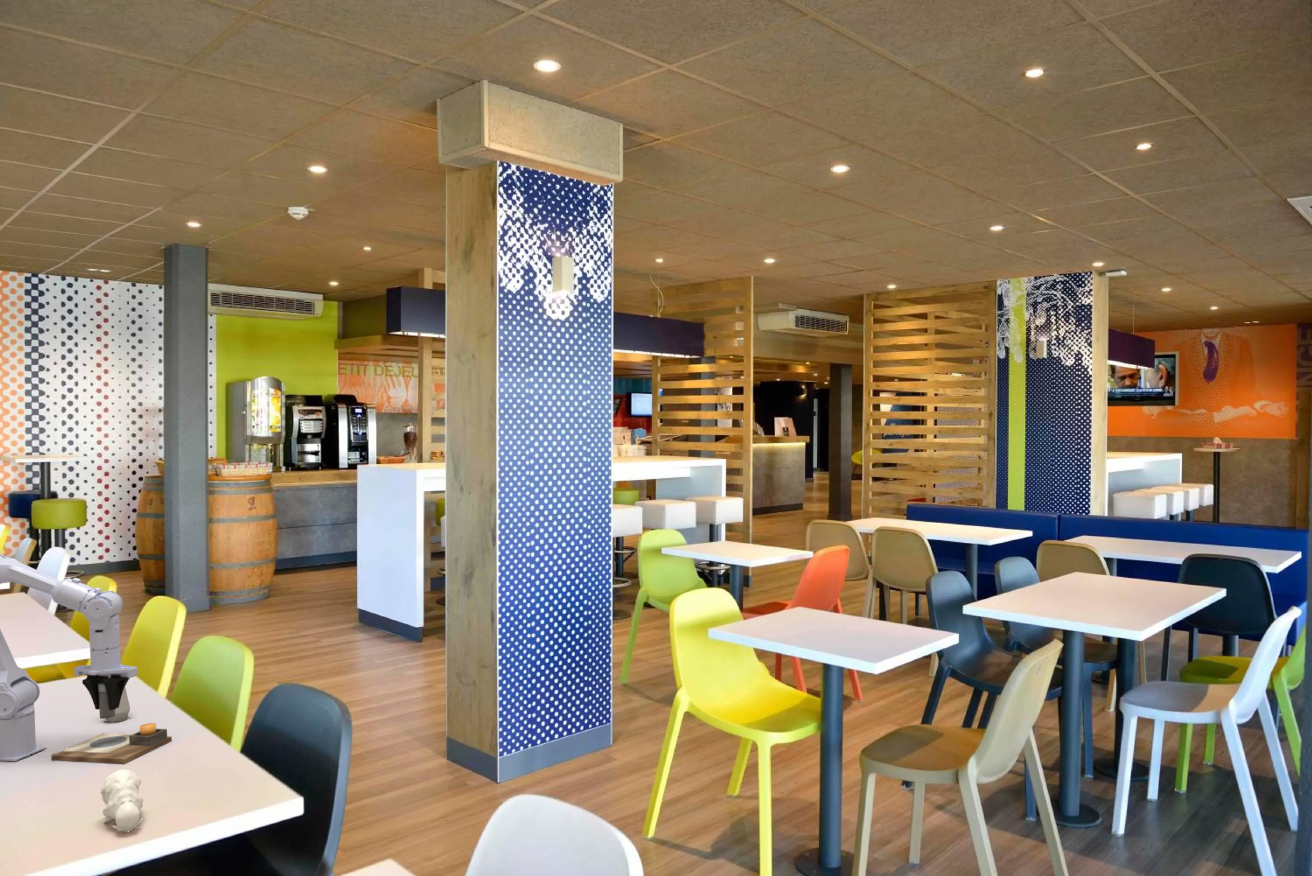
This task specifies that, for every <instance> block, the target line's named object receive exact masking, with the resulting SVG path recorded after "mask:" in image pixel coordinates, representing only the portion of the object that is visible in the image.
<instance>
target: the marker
mask: <svg viewBox="0 0 1312 876" xmlns="http://www.w3.org/2000/svg"><path fill="white" fill-rule="evenodd" d="M98 691H99V709H98V710H99V711H98V712H99V719H101V720H106V719H107V718H112V717H114V716H115V709H114V710H109V706H108V696H107V691H106V688H105V685H104V683H103V682H102V683H99V684H98Z"/></svg>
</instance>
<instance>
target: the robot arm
mask: <svg viewBox="0 0 1312 876" xmlns="http://www.w3.org/2000/svg"><path fill="white" fill-rule="evenodd" d="M7 583H16V584H19V585H21V586H24V587H28V588H30V589H33V590H36V591H40V592H43V593H46V594H48V595H50V596H51V599H52V601H53V602H54V603H56V604H58V605H60V606H63V607H66V608H68V609H70V610H73V611H76V612H79V613H81V614H83V616H84V617H85V619H87V621H88V623H89V625H88V627H89V629H88V630H89V654H90V657H89V659H90V664H89V665H88V664H87V665H85V664H83V665H78V666H75V667H74V672H73V673H74V677H80V676H86V677H85V678H84V679H82V681H81V683H82V685H83V686H84V687H85V688H86V690H87V692H88V693H89V695H90V697H91V701H92V702H93V705H94V709H95V710H99V691H98V684H99V683H102V682H103V683H104V685H105V688H106V691H107V696H108V706H109V710H114V709H116V708H119V704H120V700H121V696H122V693H123V690H124V688H126V685H127V684H128V682H129V680H130V679H131V678H134V677H136V676H138V675H139V673H138V672H139V671H138V670H139V669H138V666H131V665H125V664H121V662H122V661H121V639H120V637H121V635H120V614H119V613H120V612H121V611H122V609H123V605H124V601H123V599H122V597H121V595H120V594H118V593H116V592H115V591H114V590H106V591H102V590H103V589H102V588H101V587H92V586H89V585H88V584H84V583H82V581H81V579H80V578H77V577H74V578H70V577H69V578H65V579H62V580H59V579H57V578H55V577H52V576H50V575H49V574H46V573H44V572H42V571H40V570H37V569H35V568H33V567H31V566H29V565H26V564H24V563H23V562H21V561H19V560H17V559H15V558H12V557H8V556H5V555H4V554H0V585H1V584H7ZM109 676H110V678H109ZM40 689H41V688H40V686H39V684H38V683H37V682H36V681H35V680H34V679H32V678H31V677H30V675H29V674H28V671H26V670H25V669H23V668H21V667H19V666H18V665H17V662H16V660H15V659H14V656H13V653H12V651H11V649H10V647H9V645H8V643H7V640H6V639H5V636H4V634H3V632H2V630H1V629H0V761H5V762H17V761H20V760H21V759H24V758H27V757H29V756H31V754H32V755H34V754H36V753H38V752H40V751H43V750H46V748H47V746H44V745H37V743H36V742H37V739H36V713H35V703H36V702H37V701H38V699H39V698H40V694H41V690H40Z"/></svg>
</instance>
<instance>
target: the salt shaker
mask: <svg viewBox="0 0 1312 876" xmlns="http://www.w3.org/2000/svg"><path fill="white" fill-rule="evenodd" d="M109 678H110V676H109ZM130 710H131V705H130V702H129V697H128V694H127V689H126V687H125V688H124V690H123V693H122V696H121V700H120V704H119V708H116V709H115V716H114V717H112V718H107V719H105V720H106V722H107V723H112V722H113V723H118V722H117V721H119V722H123V721H125V720H127V719H126V718H128V716H129V714H130ZM124 719H125V720H124ZM122 720H123V721H122ZM113 723H112V724H113Z"/></svg>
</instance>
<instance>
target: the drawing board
mask: <svg viewBox="0 0 1312 876" xmlns="http://www.w3.org/2000/svg"><path fill="white" fill-rule="evenodd" d="M172 740H173V739H172V736H169V735H168V729H167V728H156V733H155V734H153V735H150V736H140V730H139V731H137V732H135V733H133V734H123V733H120V734H119V733H101V734H98V735H95V736H93V737H91V738H89V739H87V740H85V741H82V742H80V743H77V744H75V745H72V746H70V747H68V748H66V749H63V750H61V751H58V752H57V753H54V754H51V755H50V759H51V761H59V762H79V763H81V762H82V763H97V764H98V763H99V764H100V763H101V764H118V765H119V764H121V765H125V764H128V763H129V762H131V761H133V760H136V759H138V758H140V757H141V756H143V755H146V754H148V753H150V752H153V751H154V750H156V749H158V748H160V747H163V746H165V745H166V744H168V743H171V742H172ZM164 744H165V745H164Z"/></svg>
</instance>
